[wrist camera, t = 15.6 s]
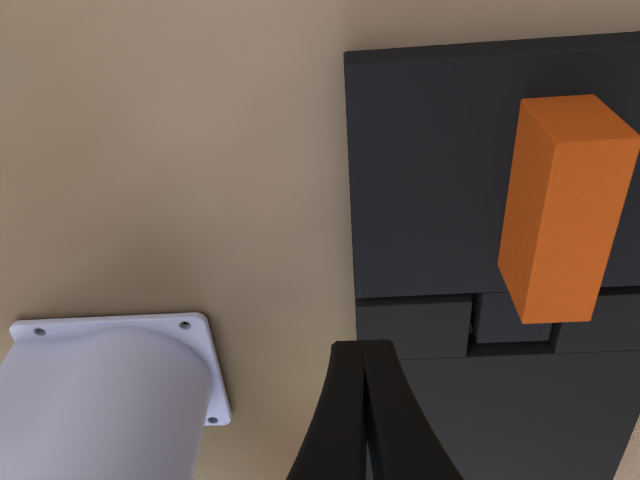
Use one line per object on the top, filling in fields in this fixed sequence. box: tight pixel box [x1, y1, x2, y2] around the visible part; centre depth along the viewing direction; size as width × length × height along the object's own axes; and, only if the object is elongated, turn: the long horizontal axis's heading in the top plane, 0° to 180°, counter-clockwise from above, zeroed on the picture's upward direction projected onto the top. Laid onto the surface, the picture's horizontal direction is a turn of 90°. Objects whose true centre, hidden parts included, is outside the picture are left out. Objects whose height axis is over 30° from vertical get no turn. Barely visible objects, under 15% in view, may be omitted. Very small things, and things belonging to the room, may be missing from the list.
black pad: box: [355, 285, 640, 480], centre depth 28 cm, size 14×14×2 cm
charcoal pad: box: [344, 31, 640, 343], centre depth 20 cm, size 14×13×5 cm
